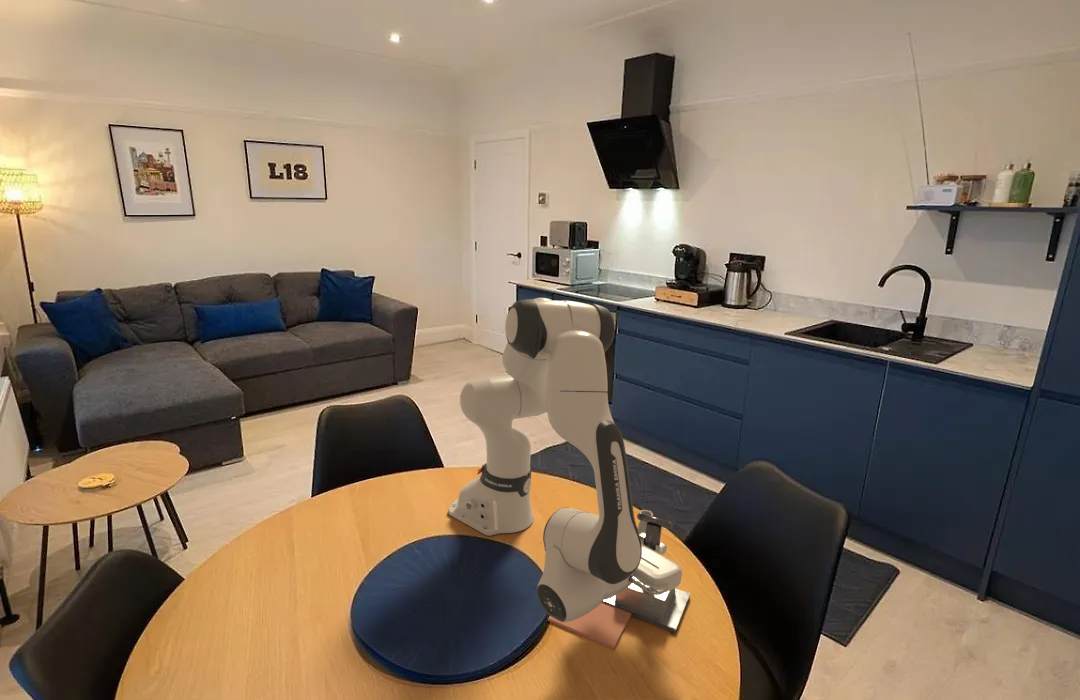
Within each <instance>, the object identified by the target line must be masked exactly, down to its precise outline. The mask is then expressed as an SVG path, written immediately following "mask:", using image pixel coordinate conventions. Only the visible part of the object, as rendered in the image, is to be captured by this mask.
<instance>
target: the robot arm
mask: <svg viewBox="0 0 1080 700" xmlns="http://www.w3.org/2000/svg"><path fill="white" fill-rule="evenodd" d="M504 324H505V326H504V327H505V336H506V341H507V343H506V345H505V348H504V351H503V354H502V365H503V369H504V370H505V372H506V373H507V374H503V375H495V376H484V377H481V378H476V379H475V380H471V381H468V382H466V384H464V386H463V388H462V389H461V393H460V396H459V406H460V409H461V411H462V413H463V415H464V416H465V418H466V419H468V420H469V421H470V422H472V423H473V424H475V425H476V427H478V428H479V430H480V431H481V432H482V434H483V437H484V440H485V446H486V447H485V448H486V463H484V464H483V465H481V467H480V468H478V469H477V471H476V472H477V473H476V474H477V475H479V474H480V475H479V476H478V477H476V478H474V479H472V480H471V481H469V482H468V483H466V485H464V486H463V487H462V488H461V490H460V491H459V495H458V498H456V499H455V500H453V502H452V503H451V504H450V506H449V508H448V515H449V516H451V517H452V518H454V519H456V520H458V521H459V522H461V523H464V524H466V525H467V526H469V527H471V528H472V529H474V530H476V531H477V532H479V533H481V534H483V535H485V536H495V535H499V534H512V533H517V532H521V531H523V530H526V529H527V528H529V527H530V526H531V525H532V523H533V521H534V514H533V511H532V504H531V497H530V495H531V494H530V491H531V486H532V467H531V452H532V445H531V441H530V440H531V439H530V438H529V436H528V435H527V434H526V433H524V432H523V431H521V430H519V429H518V428H514V427H513V421H514V420H517V419H524V418H531V417H537V416H541V415H544V414H547V418H548V423H549V424H550V426H551V427H552V429H553V430H554V431H555V433H556V434H557V435H558V436H559V437H560V438H562V439H563V440H565V441H566V442H568V443H570V444H571V445H572V446H574V447H575V448H576V449H578V450H579V451H580V452H581V453H582V454H583V455H585V457H586V458H587V459H588V461H589V463H590V465H591V466H592V469H593V473H594V482H595V487H596V489H595V491H596V498H597V507H598V514H595V513H590V512H588V511H584V510H580V509H575V508H570V507H562V508H559V509H557V510H556V511H555V512H553V514H552V515H550V517H549V518H548V519H547V521H546V523H545V526H544V528H543V529H544V530H543V534H542V536H543V537H542V539H543V540H542V541H543V546H544V551H545V555H544V558H545V559H544V568H543V571H542V575H541V577H540V580H539V581H538V582H537V583H538V584H537V586H536V593H537V594H536V595H537V598H538V600H539V601H538V602H539V603H540V605H541V606H542V609H544V611H545V612H546V613H547V615H548V616H549V615H550V616H551V617H553V618H554V619H556V620H558V621H561V622H569V621H573V620H575V619H578V618H580V617H582V616H584V615H586V614H587V613H589V612H591V611H592V610H594V609H595V608H597V607H598V606H599V605H600V604H601V603H602V601H603V600H606V599H610V598H612V597H614V596H615V595H617V594H618V593H620V592H621V591H623V590H625V589H626V588H628V587H629V586H630V585H631V584H632V583H633V584H634V585H636V586H637V587H639V588H641V589H643V590H644V591H645V592H646V593H649V594H654V595H661V594H663V593H665V592H668V591H670V590H672V589H674V588H676V589H677V587H679V586H680V585H681V581H682V575H683V570H682V566H681V565H680V564H678V563H677V562H674V561H673V560H671V559H670V558H668V557H666V556H664V554H666V553H667V549H668V545H667V544H665V543H663V542H661V541H660V542H659V543H658V544H656V549H655V550H652V549H650V548H649V547H647V546H645V545H644V544H645V535H646V534H645V533H644V532H642V533H641V534H639V532H638V529H637V527H638V525H637V524H636V520H635V519H636V517H635V514H634V512H635V511H634V507H633V505H634V503H633V498H632V497H633V496H632V491H631V483H630V481H631V480H630V475H629V466H628V460H627V452H626V446H625V442H624V437H623V434H622V431H621V429H620V428H619V426H617V425H616V424H615V421H614V419H613V416H612V413H611V409H610V406H609V398H608V390H609V389H608V387H609V386H608V372H607V371H608V370H607V361H606V355H605V353H606V352H607V351H608V350H609V348H610V347H611V345H612V343H613V341H614V338H615V332H616V331H615V330H616V328H615V326H616V325H615V320H614V317H613V315H612V313H611V312H610V310H609V309H608V308H606V307H604V306H602V305H600V304H596V303H584V302H580V301H572V300H568V299H567V300H566V299H561V300H558V299H557V300H556V299H555V300H552V299H551V298H546V297H536V298H526V299H521V300H520V299H519V300H517V301H515V302H513V304H512V305H511V306H510V307H509V309H508V312H507V314H506V318H505V322H504Z"/></svg>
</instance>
